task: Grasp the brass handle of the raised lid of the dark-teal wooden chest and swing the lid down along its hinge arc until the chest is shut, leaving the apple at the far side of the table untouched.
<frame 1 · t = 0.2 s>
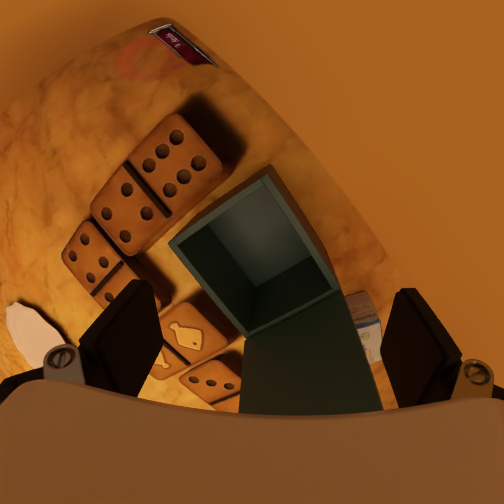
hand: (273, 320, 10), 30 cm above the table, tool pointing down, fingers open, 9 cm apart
lid: (308, 383, 24), point 20 cm above the table, hinge at 95.0°
medicine box: (356, 312, 44), on the table
plate: (45, 345, 57), on the table
chest: (262, 231, 40), on the table
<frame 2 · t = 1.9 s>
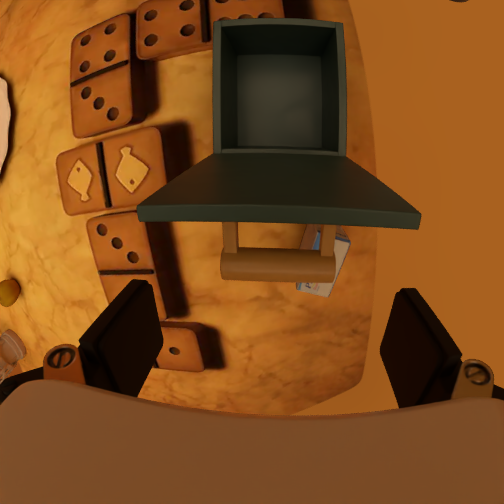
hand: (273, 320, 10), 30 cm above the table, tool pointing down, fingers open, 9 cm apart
lid: (279, 205, 19), point 20 cm above the table, hinge at 95.0°
apple: (17, 284, 52), on the table
medicine box: (315, 241, 41), on the table
chest: (279, 99, 33), on the table
lantern: (17, 340, 62), on the table
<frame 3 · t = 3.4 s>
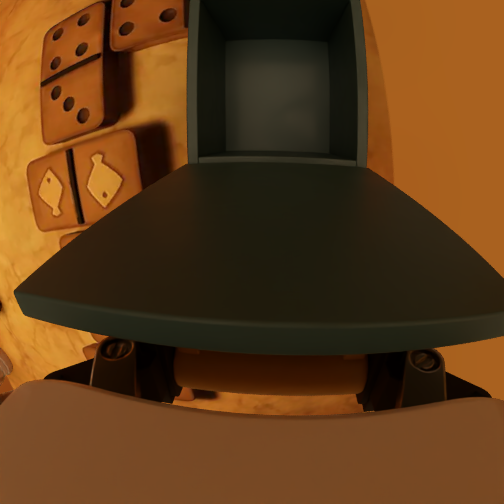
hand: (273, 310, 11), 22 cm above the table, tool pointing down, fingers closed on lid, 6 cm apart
lid: (275, 249, 12), point 20 cm above the table, hinge at 95.0°, touching gripper
chest: (277, 93, 27), on the table
lantern: (4, 356, 54), on the table
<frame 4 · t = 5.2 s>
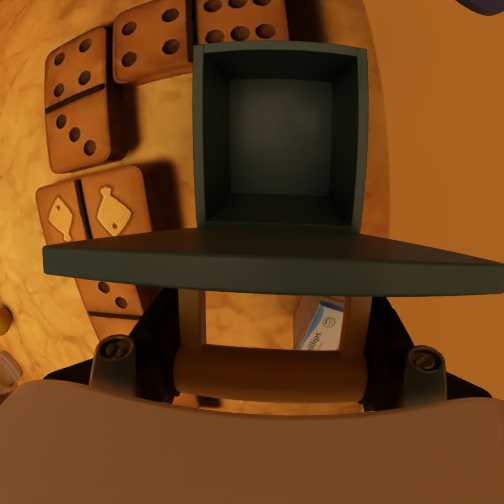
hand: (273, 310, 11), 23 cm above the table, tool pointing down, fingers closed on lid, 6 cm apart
lid: (275, 289, 13), point 20 cm above the table, hinge at 73.2°, touching gripper
apple: (9, 312, 48), on the table
medicine box: (317, 295, 37), on the table
chest: (280, 135, 29), on the table
lantern: (13, 362, 58), on the table
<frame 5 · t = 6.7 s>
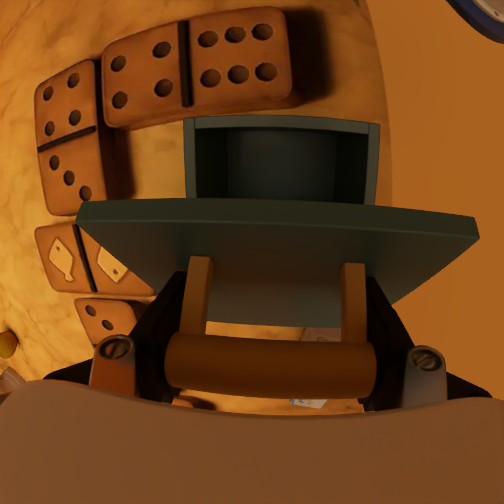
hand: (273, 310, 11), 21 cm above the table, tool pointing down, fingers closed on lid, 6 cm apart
lid: (273, 336, 13), point 19 cm above the table, hinge at 42.5°, touching gripper
apple: (14, 335, 49), on the table
medicine box: (314, 340, 37), on the table
chest: (281, 192, 29), on the table
lantern: (19, 378, 59), on the table
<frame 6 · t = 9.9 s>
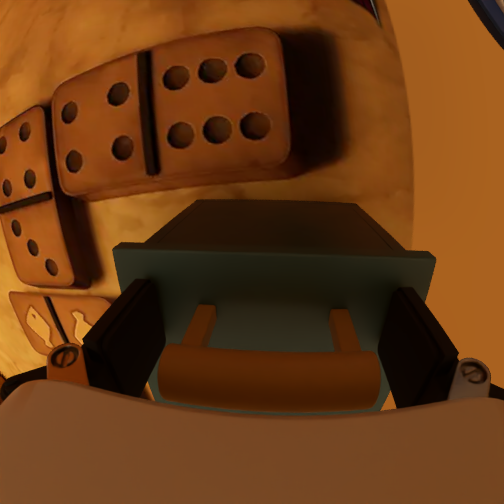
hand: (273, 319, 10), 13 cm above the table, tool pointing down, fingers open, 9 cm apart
lid: (266, 427, 11), point 14 cm above the table, hinge at -0.2°, touching chest
apple: (4, 378, 42), on the table
chest: (274, 284, 24), on the table
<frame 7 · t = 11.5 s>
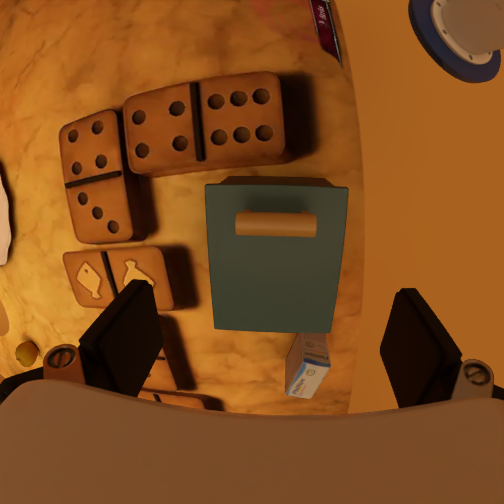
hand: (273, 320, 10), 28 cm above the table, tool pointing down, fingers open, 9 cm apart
lid: (274, 276, 25), point 14 cm above the table, hinge at -0.2°, touching chest
apple: (34, 345, 56), on the table
medicine box: (304, 344, 46), on the table
chest: (276, 230, 38), on the table
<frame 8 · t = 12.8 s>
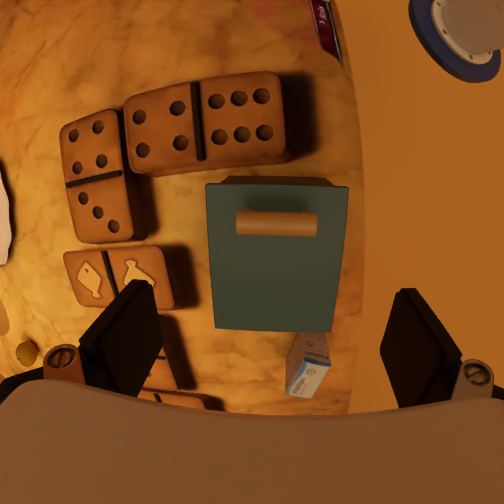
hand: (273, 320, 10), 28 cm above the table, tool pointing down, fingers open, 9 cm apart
lid: (275, 275, 25), point 14 cm above the table, hinge at -0.2°, touching chest
apple: (34, 345, 56), on the table
medicine box: (304, 344, 46), on the table
chest: (276, 229, 38), on the table
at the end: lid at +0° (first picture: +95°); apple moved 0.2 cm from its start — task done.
